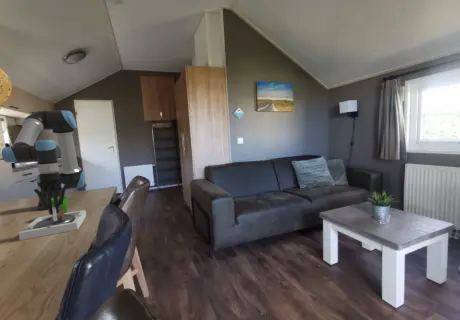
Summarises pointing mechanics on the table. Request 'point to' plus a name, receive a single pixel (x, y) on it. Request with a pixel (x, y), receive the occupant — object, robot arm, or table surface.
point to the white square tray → (33, 232)
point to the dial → (60, 220)
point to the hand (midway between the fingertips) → (55, 220)
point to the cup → (64, 205)
